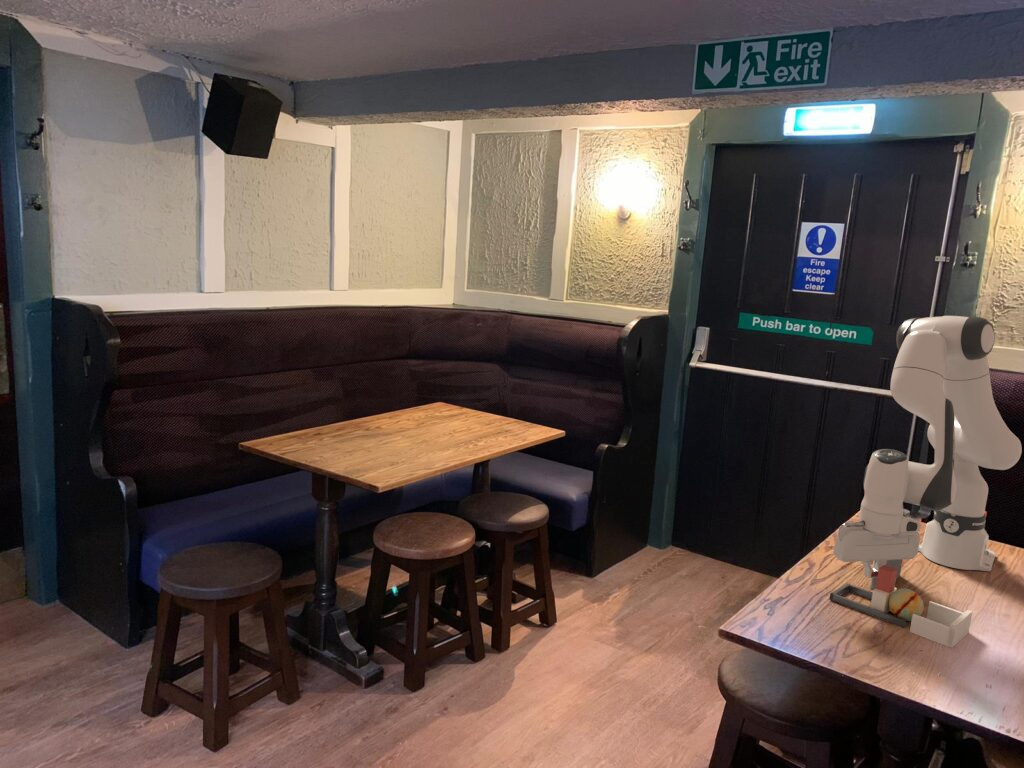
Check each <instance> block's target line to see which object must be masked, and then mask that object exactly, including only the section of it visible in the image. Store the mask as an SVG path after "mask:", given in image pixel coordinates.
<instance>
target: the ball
mask: <svg viewBox="0 0 1024 768" xmlns="http://www.w3.org/2000/svg"><path fill="white" fill-rule="evenodd" d="M889 608H890V612H891V613H892V614H893V616H895V617H898V618H901V619H903V620H906V622H911V621H912V615H913V614H916V615H918V616H922V614H923V611H924V602H923V599H922V598H921V596H920V595H919V594H918V593H917V592H915V591H914V590H912V589H909V588H897V590H896V591H894V592H893V593H892V594H891V596H890V598H889Z"/></svg>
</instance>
